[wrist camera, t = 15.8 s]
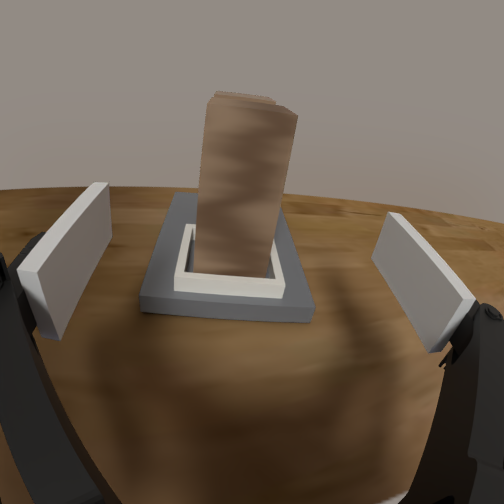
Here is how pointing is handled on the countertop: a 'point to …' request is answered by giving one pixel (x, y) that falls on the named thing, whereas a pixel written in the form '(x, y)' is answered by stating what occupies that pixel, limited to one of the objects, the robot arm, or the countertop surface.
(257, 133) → the pillar
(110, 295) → the countertop surface
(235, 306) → the baseplate
